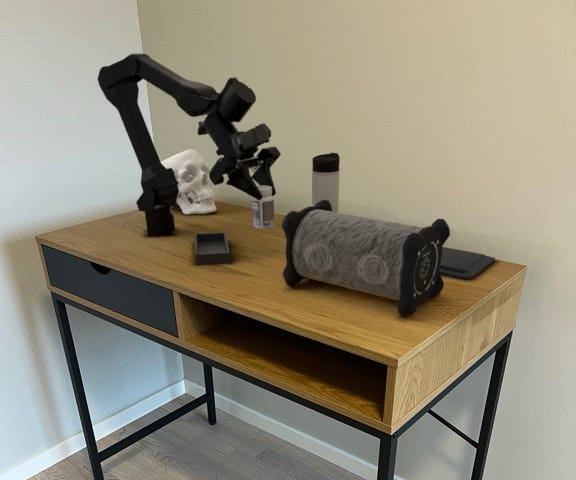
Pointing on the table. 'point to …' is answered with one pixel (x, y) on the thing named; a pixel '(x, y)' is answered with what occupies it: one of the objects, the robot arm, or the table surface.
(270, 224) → the pill bottle
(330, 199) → the travel mug
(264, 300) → the table surface
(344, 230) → the speaker
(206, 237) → the pen tray
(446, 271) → the wallet
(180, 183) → the white skull model
